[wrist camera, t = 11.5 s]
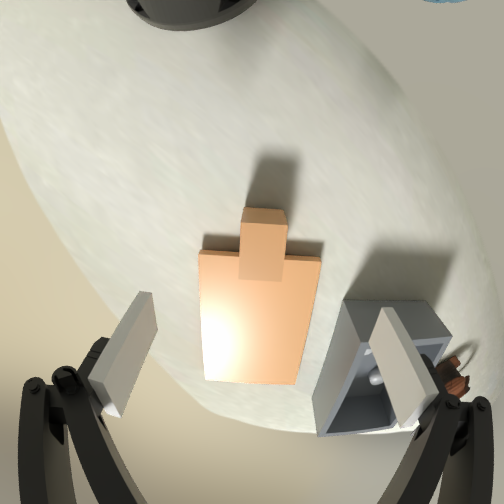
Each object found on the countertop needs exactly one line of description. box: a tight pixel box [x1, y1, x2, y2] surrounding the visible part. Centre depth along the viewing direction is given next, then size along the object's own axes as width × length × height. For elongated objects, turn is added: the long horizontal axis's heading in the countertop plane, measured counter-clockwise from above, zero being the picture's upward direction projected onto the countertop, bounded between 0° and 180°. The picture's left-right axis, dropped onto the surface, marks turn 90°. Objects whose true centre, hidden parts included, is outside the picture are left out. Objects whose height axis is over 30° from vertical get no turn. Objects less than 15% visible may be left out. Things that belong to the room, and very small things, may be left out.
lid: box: [198, 207, 321, 385], centre depth 31 cm, size 25×13×6 cm, turn 177°
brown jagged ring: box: [435, 356, 470, 399], centre depth 38 cm, size 12×10×8 cm
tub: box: [312, 300, 452, 437], centre depth 34 cm, size 20×13×8 cm, turn 176°
